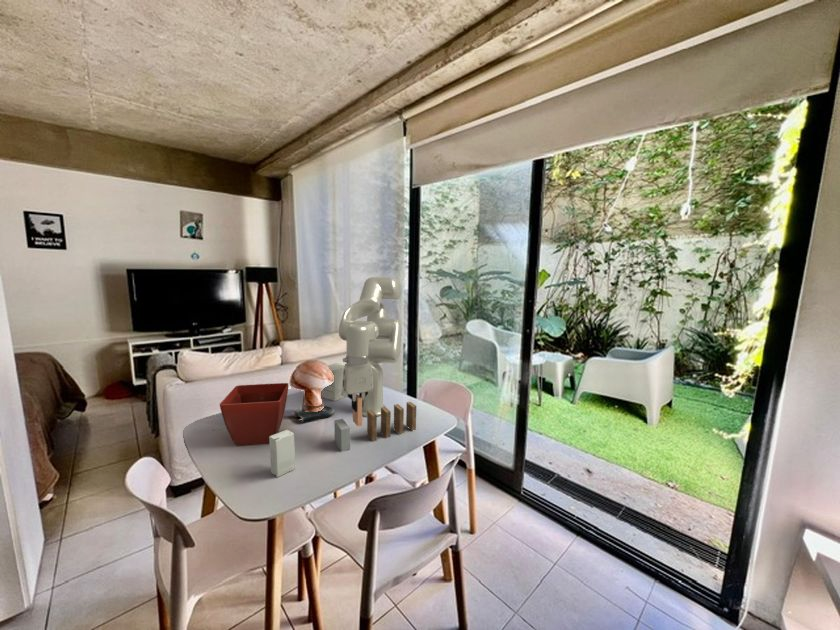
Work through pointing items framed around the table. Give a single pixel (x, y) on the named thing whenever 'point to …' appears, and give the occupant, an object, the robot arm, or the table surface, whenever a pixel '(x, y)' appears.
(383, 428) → the domino
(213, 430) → the table surface
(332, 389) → the supplement box
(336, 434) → the block
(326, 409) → the electronic device
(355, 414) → the domino end
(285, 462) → the skincare box
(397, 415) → the domino
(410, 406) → the domino
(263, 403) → the plant pot
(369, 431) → the domino
